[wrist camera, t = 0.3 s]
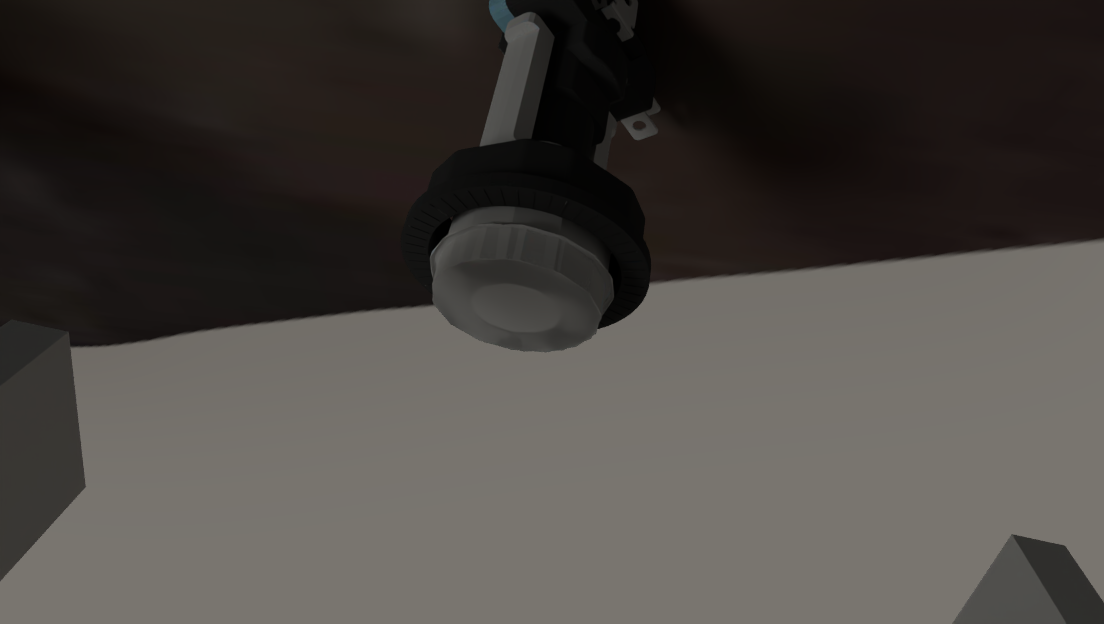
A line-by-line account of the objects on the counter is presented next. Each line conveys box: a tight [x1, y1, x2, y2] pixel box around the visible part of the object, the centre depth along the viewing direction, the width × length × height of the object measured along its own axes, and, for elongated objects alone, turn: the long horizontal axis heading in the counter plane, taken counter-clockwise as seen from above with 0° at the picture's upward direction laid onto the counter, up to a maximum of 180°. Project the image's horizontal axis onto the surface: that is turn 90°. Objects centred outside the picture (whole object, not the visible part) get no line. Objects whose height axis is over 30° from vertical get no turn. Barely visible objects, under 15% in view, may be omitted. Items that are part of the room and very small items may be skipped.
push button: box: [401, 0, 661, 352], centre depth 19 cm, size 7×5×10 cm
